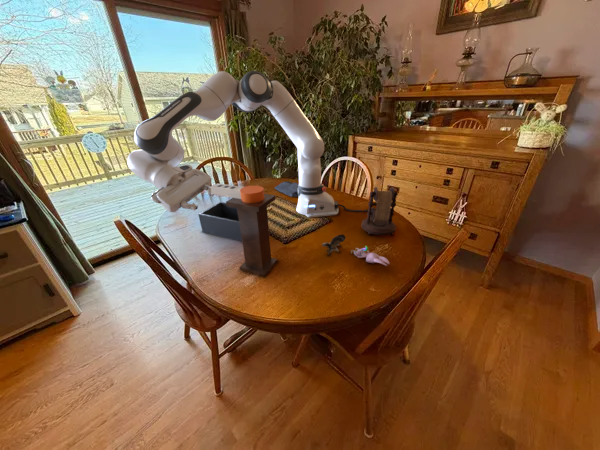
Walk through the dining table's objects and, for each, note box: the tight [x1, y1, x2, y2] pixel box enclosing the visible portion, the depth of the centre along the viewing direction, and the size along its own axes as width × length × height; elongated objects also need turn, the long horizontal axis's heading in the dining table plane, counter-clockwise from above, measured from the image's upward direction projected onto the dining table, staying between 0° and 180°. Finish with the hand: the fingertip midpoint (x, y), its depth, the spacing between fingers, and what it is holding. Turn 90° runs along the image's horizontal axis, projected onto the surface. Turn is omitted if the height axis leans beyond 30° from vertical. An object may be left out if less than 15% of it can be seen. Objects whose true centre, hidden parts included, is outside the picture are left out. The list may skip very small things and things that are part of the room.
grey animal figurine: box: [321, 233, 347, 256], centre depth 91 cm, size 8×7×9 cm
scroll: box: [360, 186, 399, 236], centre depth 102 cm, size 15×15×20 cm
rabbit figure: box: [350, 245, 390, 267], centre depth 85 cm, size 6×6×15 cm
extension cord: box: [210, 183, 265, 203], centre depth 73 cm, size 18×7×3 cm, turn 67°
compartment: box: [197, 201, 242, 242], centre depth 106 cm, size 23×15×9 cm, turn 67°
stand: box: [225, 193, 278, 278], centre depth 79 cm, size 11×10×26 cm
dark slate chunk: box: [274, 180, 299, 198], centre depth 151 cm, size 15×22×5 cm
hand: (205, 200), depth 82 cm, fingers open, 8 cm apart
